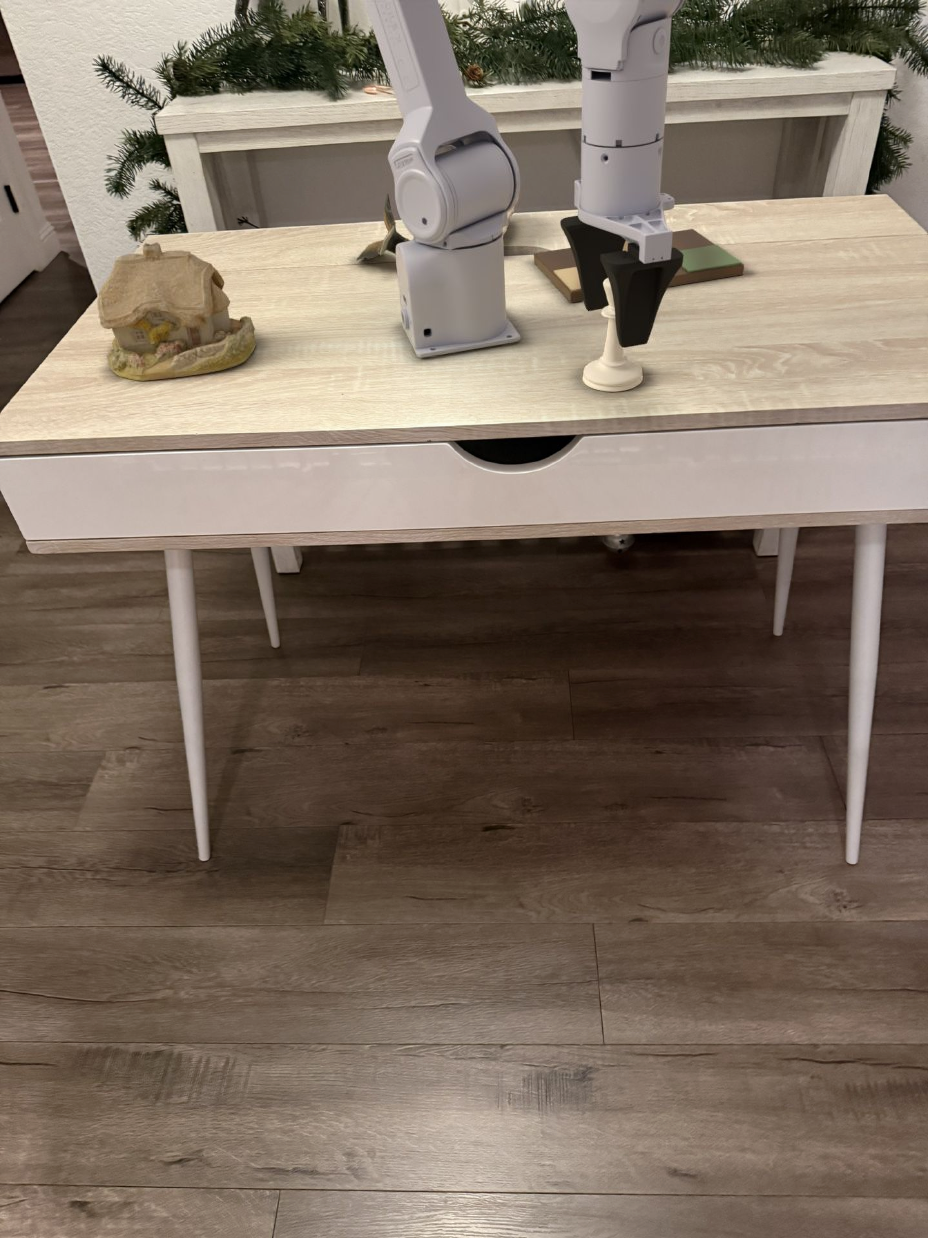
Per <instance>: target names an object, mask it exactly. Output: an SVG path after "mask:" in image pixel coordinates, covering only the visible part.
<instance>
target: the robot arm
mask: <svg viewBox="0 0 928 1238" xmlns="http://www.w3.org/2000/svg"><path fill="white" fill-rule="evenodd" d="M685 1H686V0H563V2H564V3H563V4H564V6H565V10H566V13H567V16H568V18H569V21H570V23H571V24H572V26H573V28H574V30H575V34H576V37H577V58H578V59H580V64H581V136H580V137H581V140H580V179H575V180H574V197H573V198H574V200H573V201H574V203H573V204H574V207H575V208H577V215H572V216H567V217H566V216H565V217H563V218H561V220H560V221H559V224H560V228H561V230H562V232H563V234H564V235H565V237H566V239H567V242H568V244H569V248H571V250H572V253H573V256H574V259H575V263H576V267H577V271H578V276H579V281H580V286H581V291H582V296H583V301H582V302H583V304H584V307H585V309H586V311H587V312H593V311H598V310H599V311H600V310H603V308H604V307H606V306H608V305H609V303H608V300H607V295H606V292H605V290H604V286H603V282H604V280H605V279H607V278H608V279H609V282H610V285H611V289H612V294H613V300H614V307H615V321H616V331H617V337H618V341H619V344H620V346H621V347H622V348H623V349H624V348H625V349H626V348H632V347H636V346H643V345H647V344H648V343H649V339H650V336H651V333H652V330H653V328H654V325H655V322H656V317H657V315H658V312H659V309H660V306H661V303H662V301H663V298H664V297H665V294H666V291H667V290H668V288H669V287H668V286H669V284H670V282H671V281H672V279H673V277H674V276H675V274H676V273H677V272H678V270H679V269H680V268H681V266H682V264H683V257H684V255H683V253H682V252H680V251H679V250H678V249H676V248H675V247H674V248H672V235H673V232H674V231H673V230H672V229H671V228H669V226H668V225H667V221H666V215H665V211H671V210H673V209H674V208H675V199H676V198H674V197H673V196H671V195H670V194H668V193H665V192H661V189H662V188H661V187H662V186H661V185H662V173H663V172H662V171H663V155H664V141H665V140H664V139H665V127H666V125H665V123H666V108H667V93H668V78H669V63H670V50H671V49H670V48H671V34H672V33H671V32H672V31H671V30H672V18H673V16H674V15H676V13H677V12H679V10H680V8H682V6H683V4H684V2H685ZM363 3H364V6H365V9H366V13H367V15H368V18H369V21H370V24H371V27H372V30H373V34H374V36H375V39H376V42H377V45H378V48H379V51H380V55H381V57H382V61H383V63H384V66H385V70H386V73H387V75H388V78H389V81H390V85H391V87H392V91H393V94H394V97H395V100H396V102H397V106H398V109H399V111H400V112H399V113H400V115H401V117H402V121H403V123H402V126H401V128H400V130H399V133H398V134H397V136H396V138H395V140H394V142H393V143H392V146H391V147H390V150H389V152H388V154H387V160H388V163H389V166H390V169H391V172H392V177H393V183H394V199H395V205H396V209H397V212H398V215H399V217H400V220H401V222H402V224H403V226H404V227H405V229H406V230H407V231H408V232H409V234H411V236H412V239H409V240H410V241H407V242H402V243H399V244H397V245H396V255H395V265H396V275H397V284H398V291H399V292H398V293H399V300H400V315H401V325H402V326H401V327H402V328H403V330H404V333H405V335H406V336H407V338H408V340H409V343H410V345H411V347H412V349H413V351H414V352H415V354H416V357H417V358H430V357H434V356H441V355H446V354H452V353H459V352H464V351H465V352H466V351H470V350H475V349H481V348H489V347H494V346H495V347H496V346H500V345H506V344H511V343H517V342H518V343H519V341H521V335H520V333H519V332H518V330H517V329H516V327H514V325H513V324H512V322H511V321H510V320H509V318H508V317H507V303H506V302H507V301H506V300H507V299H506V277H505V250H504V236H503V228H504V227H505V226H507V225H508V217H507V212H508V211H510V210H511V209H512V208H513V206H514V205H515V203H516V202H517V203H518V201H517V199H518V196H519V197H520V193H521V174H520V169H519V164H518V162H517V160H516V157H515V156H514V154H513V152H512V151H511V149H510V148H509V147H508V145H507V144H506V143H505V141H504V139H503V138H502V135H501V133H500V130H499V128H498V124H497V120H496V118H495V116H494V115H493V114H492V113H490V112H489V111H487V110H486V109H484V108H483V107H482V106H480V105H479V104H477V103H476V102H474V101H473V100H472V99H470V97H468V96H467V92H466V88H465V86H464V85H465V84H464V82H463V79H462V76H461V72H460V69H459V65H458V61H457V59H456V56H455V51H454V49H453V46H452V42H451V39H450V36H449V32H448V29H447V25H446V23H445V19H444V16H443V12H442V9H441V6H440V2H439V0H363ZM444 147H452V148H453V149H450V150H446V151H444V152H441V153H439V154H436V152H437V150H439V149H441V148H444ZM625 241H628V242H629V243H628V250H627V251H626V250H625V251H623V248H624V244H625Z"/></svg>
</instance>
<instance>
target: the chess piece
mask: <svg viewBox="0 0 928 1238" xmlns="http://www.w3.org/2000/svg"><path fill="white" fill-rule="evenodd" d="M603 286H604V290H605V292H606V295H607V300H608V303H609V305H608V306H606V307H604V308H603V309H601V312H600V313H601V316H603V317H604V318H607V319H608V322H607V330H606V331H607V332H606V337H605V342H604V349H603V354H602V355H601V356H600V357H599V358H597V359H595V360H592V361H591V362H589V363H588V364H586V365H585V366H584V368H583V374H582V382H583V383H584V384H585V385H586V386H587V387H589V388H591V389H594V390H597V391H600V392H607V393H610V392H611V393H614V392H623V391H628V390H631V389H634V388H636V387H637V386H639V385H640V384H641V383H642V382H643V379H644V375H643V368H642V366H641V365H640V364H639V363H638V362H637V361H634V360H633V359H629V358H628V357H627V356H626V355H625V353H624V348H622V347H621V346H620V344H619V341H618V337H617V331H616V321H615V307H614V300H613V294H612V289H611V285H610V282H609V279H608V278H607V279H605V280H604V282H603Z"/></svg>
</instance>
